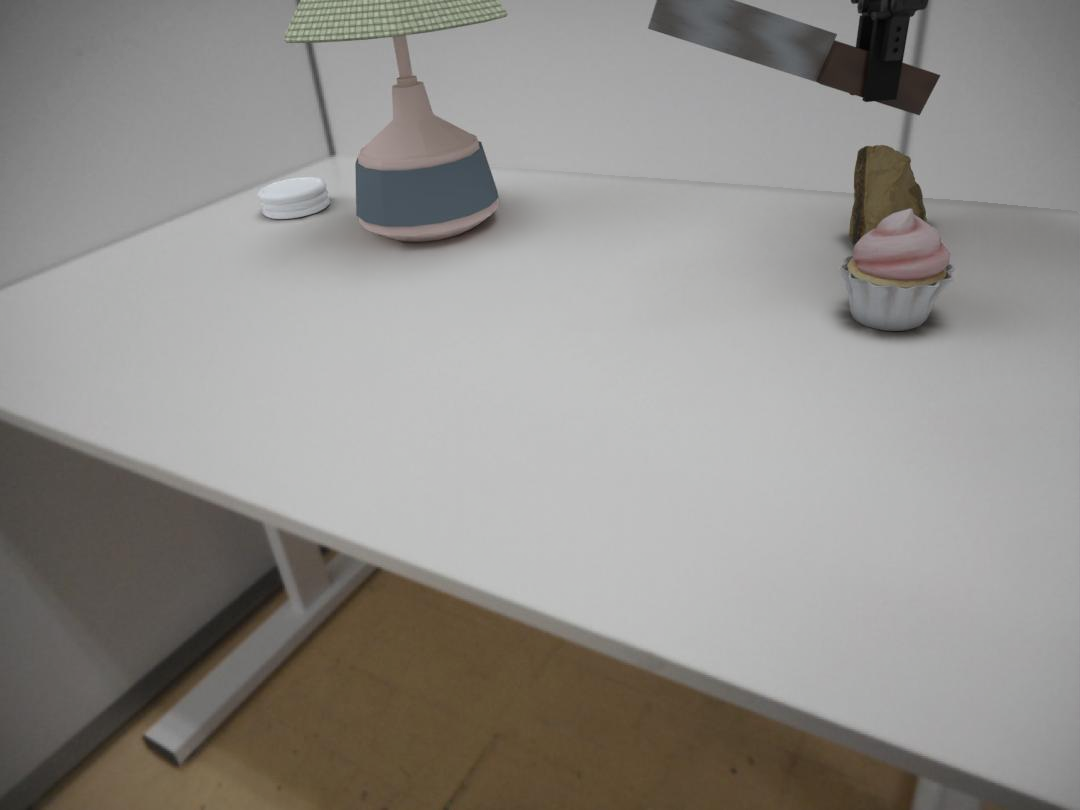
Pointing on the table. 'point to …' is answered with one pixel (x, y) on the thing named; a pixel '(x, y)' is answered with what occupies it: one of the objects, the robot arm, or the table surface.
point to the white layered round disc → (294, 198)
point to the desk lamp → (410, 123)
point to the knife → (784, 46)
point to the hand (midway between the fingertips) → (872, 96)
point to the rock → (882, 189)
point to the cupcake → (897, 273)
